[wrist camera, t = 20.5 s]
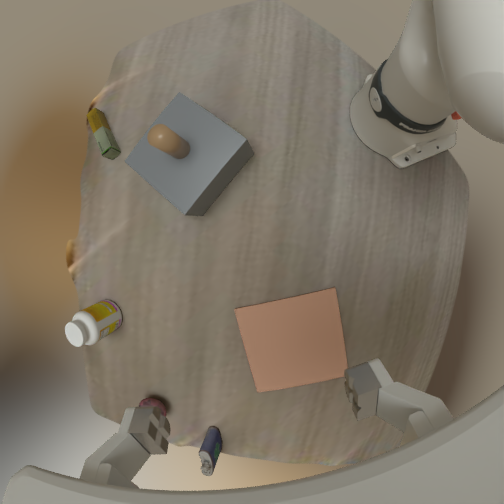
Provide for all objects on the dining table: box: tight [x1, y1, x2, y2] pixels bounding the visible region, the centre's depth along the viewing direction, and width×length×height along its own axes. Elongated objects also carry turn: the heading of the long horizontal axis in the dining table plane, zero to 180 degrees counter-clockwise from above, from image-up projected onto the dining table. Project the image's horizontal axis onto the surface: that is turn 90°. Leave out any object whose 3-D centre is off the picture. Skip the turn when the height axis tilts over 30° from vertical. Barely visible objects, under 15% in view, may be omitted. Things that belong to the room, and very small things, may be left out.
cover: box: [125, 92, 254, 216], centre depth 40 cm, size 14×14×17 cm
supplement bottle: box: [65, 300, 122, 347], centre depth 48 cm, size 7×7×13 cm
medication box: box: [87, 108, 121, 160], centre depth 48 cm, size 12×3×4 cm, turn 30°
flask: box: [199, 426, 222, 476], centre depth 49 cm, size 9×3×11 cm, turn 0°
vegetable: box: [139, 398, 166, 417], centre depth 50 cm, size 6×6×10 cm
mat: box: [234, 287, 348, 392], centre depth 49 cm, size 18×18×1 cm
